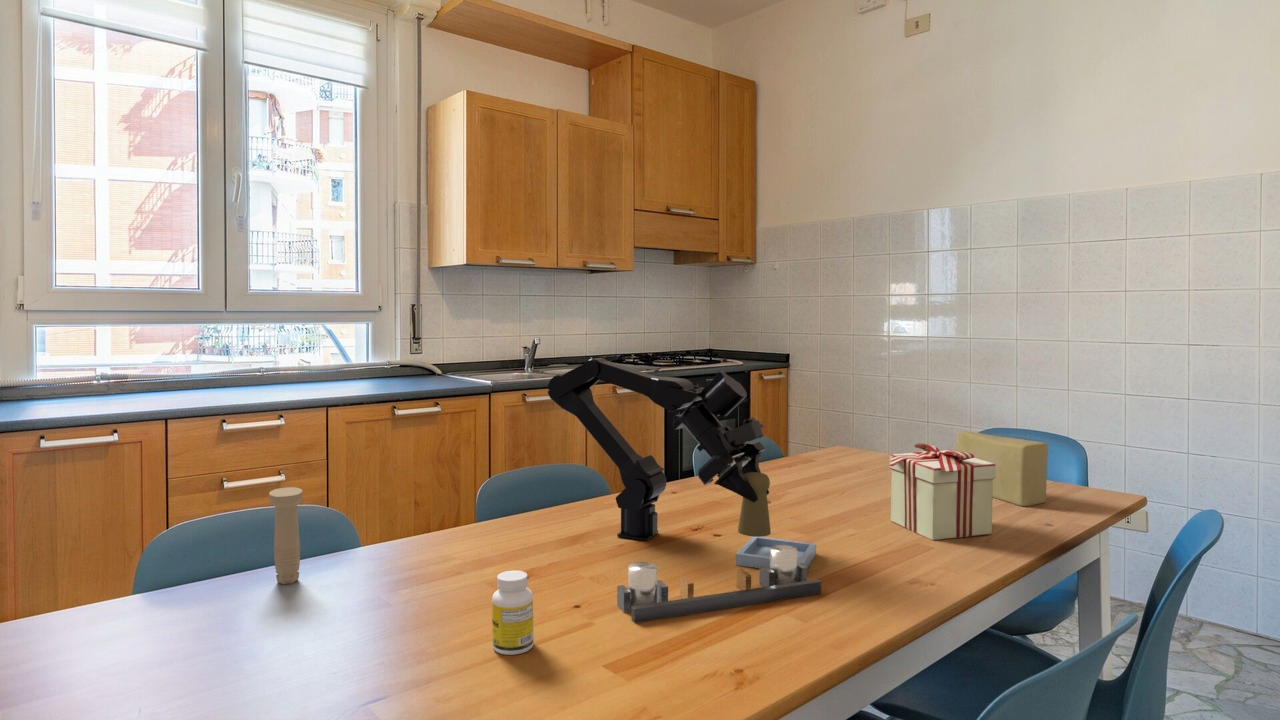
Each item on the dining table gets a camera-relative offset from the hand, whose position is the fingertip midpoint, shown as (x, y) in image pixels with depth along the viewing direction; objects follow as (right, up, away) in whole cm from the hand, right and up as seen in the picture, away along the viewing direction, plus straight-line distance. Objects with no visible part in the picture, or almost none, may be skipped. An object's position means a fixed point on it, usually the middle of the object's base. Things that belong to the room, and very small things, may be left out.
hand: (761, 497), depth 136 cm
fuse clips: (-10, -12, -20) cm, 25 cm away
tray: (+3, -11, -1) cm, 11 cm away
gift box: (+40, -10, +19) cm, 45 cm away
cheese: (+66, -9, +50) cm, 83 cm away
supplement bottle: (-39, -13, -37) cm, 56 cm away
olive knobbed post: (-1, -7, +1) cm, 7 cm away
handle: (-80, -12, -14) cm, 82 cm away
